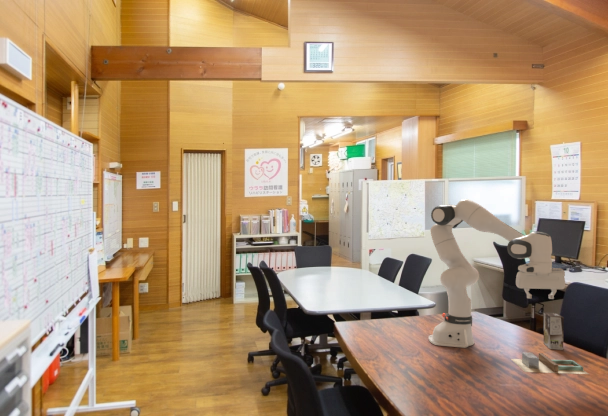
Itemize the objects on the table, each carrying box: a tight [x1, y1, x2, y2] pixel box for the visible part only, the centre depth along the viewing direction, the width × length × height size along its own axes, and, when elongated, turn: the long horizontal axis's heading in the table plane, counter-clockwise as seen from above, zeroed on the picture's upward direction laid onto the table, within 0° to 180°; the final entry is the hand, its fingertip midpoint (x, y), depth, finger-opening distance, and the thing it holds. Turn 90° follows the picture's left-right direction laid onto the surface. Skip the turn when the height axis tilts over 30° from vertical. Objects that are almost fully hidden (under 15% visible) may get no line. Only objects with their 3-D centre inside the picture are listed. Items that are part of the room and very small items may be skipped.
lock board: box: [510, 352, 589, 375], centre depth 187 cm, size 26×15×4 cm, turn 85°
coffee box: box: [543, 312, 565, 351], centre depth 214 cm, size 9×6×16 cm
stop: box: [521, 351, 539, 369], centre depth 187 cm, size 4×7×4 cm, turn 175°
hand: (540, 298), depth 192 cm, fingers open, 8 cm apart
